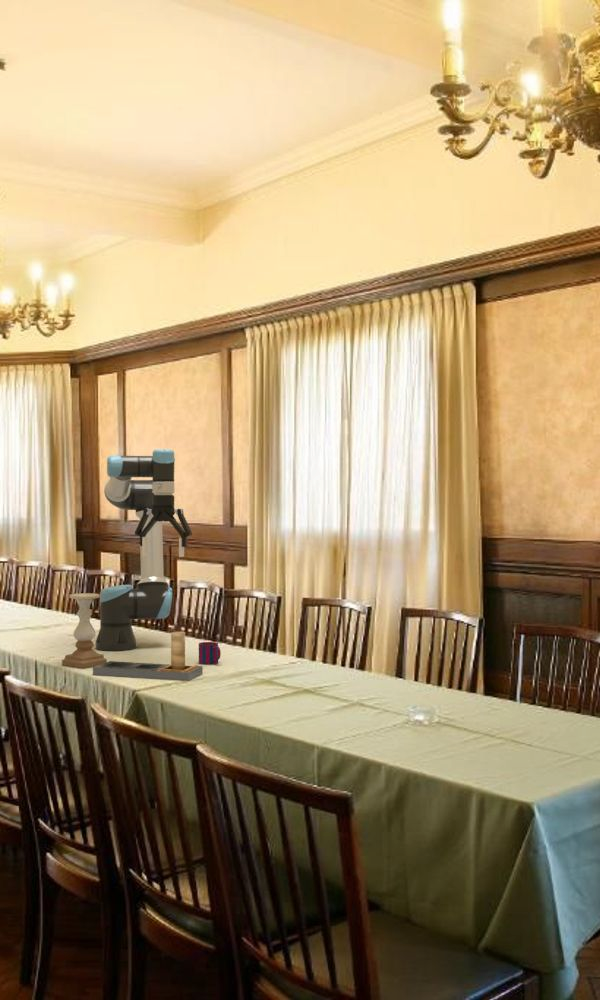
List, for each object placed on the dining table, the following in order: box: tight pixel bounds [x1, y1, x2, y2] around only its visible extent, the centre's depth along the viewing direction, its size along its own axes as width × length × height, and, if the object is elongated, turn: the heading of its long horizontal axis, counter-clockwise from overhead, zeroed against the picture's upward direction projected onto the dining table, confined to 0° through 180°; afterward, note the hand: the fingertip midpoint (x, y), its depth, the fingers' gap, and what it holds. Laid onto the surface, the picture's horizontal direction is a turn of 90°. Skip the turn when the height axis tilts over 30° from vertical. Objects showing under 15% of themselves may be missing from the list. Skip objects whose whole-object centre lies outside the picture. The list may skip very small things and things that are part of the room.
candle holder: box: [61, 592, 108, 669], centre depth 343 cm, size 11×11×24 cm
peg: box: [170, 631, 186, 670], centre depth 323 cm, size 4×4×14 cm
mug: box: [198, 641, 222, 666], centre depth 346 cm, size 7×10×7 cm
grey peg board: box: [92, 660, 204, 682], centre depth 326 cm, size 12×33×3 cm, turn 74°
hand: (163, 556), depth 346 cm, fingers open, 13 cm apart
